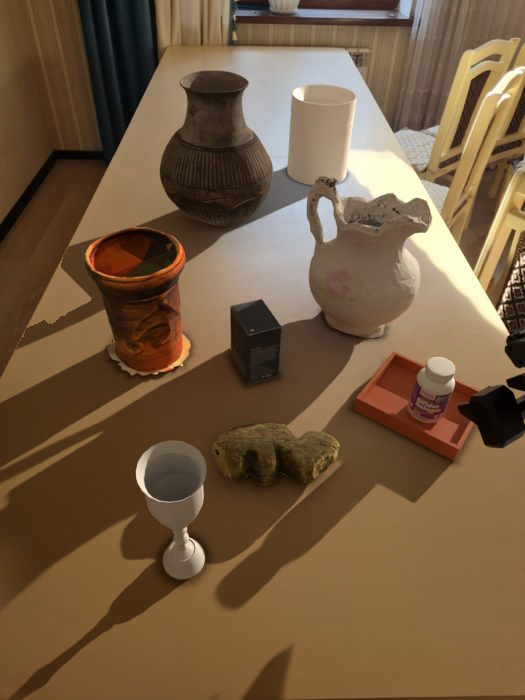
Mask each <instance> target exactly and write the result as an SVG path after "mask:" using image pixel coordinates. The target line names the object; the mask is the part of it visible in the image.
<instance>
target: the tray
mask: <svg viewBox="0 0 525 700" xmlns="http://www.w3.org/2000/svg"><path fill="white" fill-rule="evenodd" d="M425 366H426V364H423V363H421V362H419V361H417V360H415V359H413V358H410V357H408V356H406V355H403V354H401V353H399V352H396V351H395V350H393V351H392V352H391V353H390V354H389V356H388V357H387V359H385V361H384V362H383V364H381V366H380V367H379V369H377V371H376V372H375V373H374V375H373V376H372V377H371V378H370V379H369V381H367V383H366V384H365V386H364V387H363V389H362V390H361V391H360V392H359V394H358V395H356V397H355V400H354V405H353V410H354V411H356V412H358V413H359V414H362V415H364V416H366V417H368V418H370V419H372V420H373V421H375V422H377V423H380V424H382V425H383V426H385V427H388V428H389V429H391V430H393V431H394V432H397V433H399V434H401V435H403V436H405V437H406V438H408V439H411V440H412V441H414V442H416V443H418V444H421V445H422V446H424V447H426V448H428V449H430V450H432V451H434V452H436V453H438V454H440V455H441V456H444V457H446V458H448V459H450V460H451V461H453V462H455V461H456V459H457V457H458V455H459V453H460V452H461V450H462V448H463V446H464V444H465V442H466V441H467V439H468V437H469V435H470V433H471V432H472V431H473V428H474V426H475V425H476V424H475V423H473V422H472V421H470V420H469V419H467V418H466V417H464V416H463V415H462V414H460V413H459V410H458V407H457V406H458V405H459V404H462V403H466V402H469V401H470V397H471V396H472V395H474V394H475V393H477V392H479V391H481V390H482V389H480V388H477V387H475V386H473V385H471V384H468V383H466V382H464V381H461V380H459V379H456V378H455V377H453V378H454V380H455V386H454V390H453V392H452V394H451V397H450V399H449V402H448V404H447V407H446V409H445V412H444V414H443V416H442V418H441V419H440V420H439V421H437V422H435V423H423V422H420V421H418V420H416V419H415V418H413V417H412V416H411V414H410V413H409V411H408V402H409V399H410V396H411V393H412V390H413V386H414V383H415V380H416V378H417V375H418V373H419V371H420V370H421V369H423V368H425Z"/></svg>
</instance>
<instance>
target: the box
mask: <svg viewBox="0 0 525 700" xmlns="http://www.w3.org/2000/svg"><path fill="white" fill-rule="evenodd" d="M229 310H230V311H229V312H230V313H229V314H230V316H229V317H230V319H229V320H230V356H231V358H232V360H233V361H234V363H235V365H236V367H237V369H238V370H239V372H240V374H241V375H242V377H243V379H244V381H245V383H246V384H247V385H251V384H256V383H258V382H262V381H266V380H270V379H274V378H278V377H279V372H280V358H281V345H282V330H283V329H282V328H283V327H282V325H281V324H280V322H279V320H277V318H276V317H275V315H274V314H273V312H272V311H271V310H270V308H269V307H268V305H267V304H266V303H265V301H264V299H262V298H261V299H255V300H251V301H247V302H241V303H238V304H233V305H230V306H229Z"/></svg>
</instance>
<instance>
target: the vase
mask: <svg viewBox="0 0 525 700" xmlns="http://www.w3.org/2000/svg"><path fill="white" fill-rule="evenodd" d="M249 85H250V82H249V80H248V79H247V78H246V77H245V76H242V75H240V74H238V73H235V72H233V71H226V70H198V71H193V72H190V73H188V74H185V75H184V76H183V77H181V78H180V80H179V86H180V87H181V88H182V89H183V90H184V91H185V94H186V103H187V105H186V111H185V112H186V114H185V118H184V122H183V124H182V126H181V127H180V128H178V129H176V131H175V132H174V133H173V135H172V136H171V137H170V139H169V141H168V142H167V144H166V146H165V148H164V150H163V153H162V155H161V159H160V164H159V179H160V183H161V185H162V188H163V190H164V192H165V194H166V196H167V197H168V199H169V200H170V201H171V202H172V204H174V205H175V206H176V207H177V208H178V209H179V210H180V211H181V212H182V213H184V214H185V215H186V216H188V217H189V218H191V219H194V220H196V221H200V222H202V223H206V224H209V225H213V226H219V227H220V226H222V227H227V226H228V227H229V226H233V225H236V224H238V223H240V222H243V221H244V220H246V219H249V218H250V217H251V216H252V215H253V214H255V213H256V211H257V210H259V208H260V207H261V206H262V205H263V203H264V201H266V198H267V196H268V195H269V192H270V190H271V187H272V182H273V179H274V178H273V177H274V167H273V162H272V159H271V156H270V155H269V154H268V152H267V150H266V148H265V146H264V145H263V143H262V141H261V139H260V138H259V136H258V135H257V134H256V133H255V131H254V130H252V129H251V128H250V127H249V126H248V125H247V123H246V119H245V115H244V110H243V97H244V92H245V90H246V89H247V88H248V87H249Z"/></svg>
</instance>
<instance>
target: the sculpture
mask: <svg viewBox="0 0 525 700" xmlns="http://www.w3.org/2000/svg"><path fill="white" fill-rule="evenodd" d="M340 445H341V444H340V443H339V441H338V440H336V438H335V437H334V436H332V435H330V434H328V433H326V432H323V431H317V430H309V431H307V432H305V433H303V434H302V435H301V436H300V437H297V436H295V434H293V432H291V430H290V429H289V427H288V426H287V424H284V423H274V422H252V423H246V424H242V425H236V426H232V427H231V428H229V429H228V431H226V432H224V433H222V434H221V435H220V436H218V439H217V440H216V441H215V442H214V443H213V444H212V450H211V451H212V453H213V456H214V459H215V461H216V464H217V466H218V467H219V469H220V470H221V471H222V473H223V475H224V477H225V478H226V479H229V480H230V481H232V482H236V483H241V482H244V481H245V480H247V479H248V477H249V476H250V475H252V476H253V477H254V479H255V482H256V484H258V485H261V486H268V485H271V484H273V483H274V482H275V481H276V480H277V478H278V474H279V473H281V474H283V475H285V476H287V477H288V478H290V479H292V480H293V481H295V482H296V483H299V484H312V483H314V482H316V481H317V480H318V478H319V477H320V476H321V475H322V474H323V473H324V472H325V471H327V470H328V468H329V467H330V466H332V464H333V463H334V462H335V461H336V460H337V459H338V456H339V454H338V453H339V450H340V447H341V446H340Z"/></svg>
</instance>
